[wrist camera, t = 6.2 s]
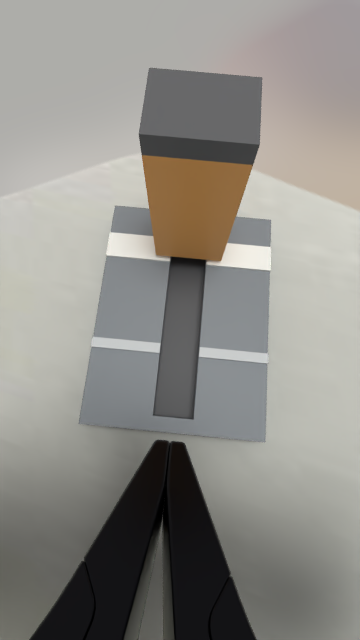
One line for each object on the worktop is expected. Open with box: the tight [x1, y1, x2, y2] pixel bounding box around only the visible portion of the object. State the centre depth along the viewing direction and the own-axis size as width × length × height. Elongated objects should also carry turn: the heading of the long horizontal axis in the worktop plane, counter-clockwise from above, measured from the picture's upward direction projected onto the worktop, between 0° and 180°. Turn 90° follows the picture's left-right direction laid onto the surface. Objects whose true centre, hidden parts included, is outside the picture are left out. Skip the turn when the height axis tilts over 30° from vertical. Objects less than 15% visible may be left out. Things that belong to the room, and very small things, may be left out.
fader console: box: [79, 206, 271, 442], centre depth 17 cm, size 12×9×1 cm
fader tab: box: [139, 68, 262, 261], centre depth 14 cm, size 2×4×9 cm
